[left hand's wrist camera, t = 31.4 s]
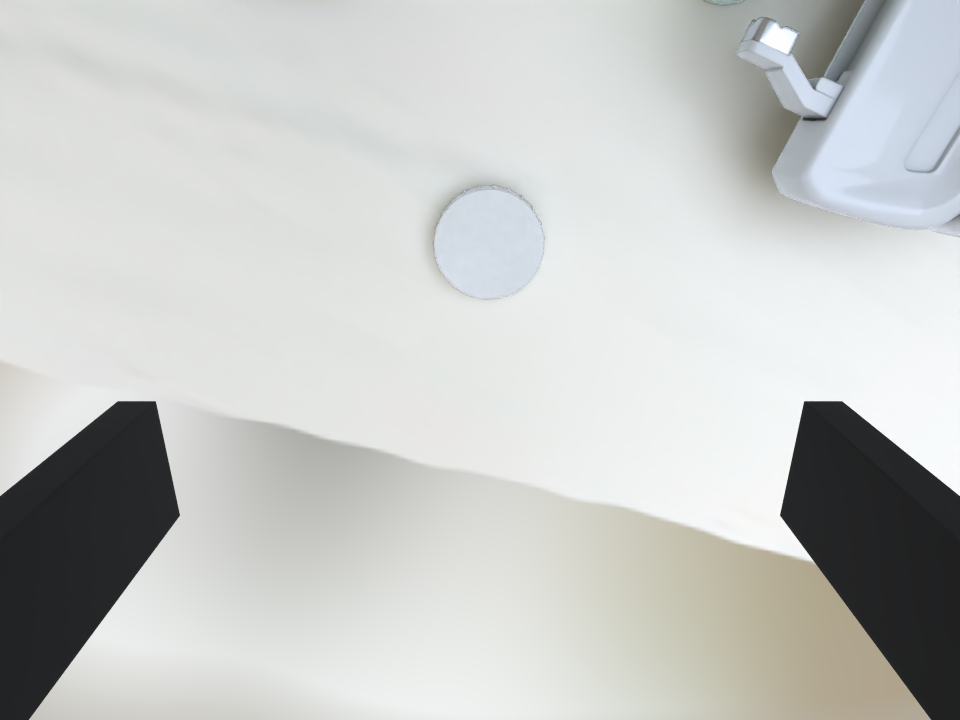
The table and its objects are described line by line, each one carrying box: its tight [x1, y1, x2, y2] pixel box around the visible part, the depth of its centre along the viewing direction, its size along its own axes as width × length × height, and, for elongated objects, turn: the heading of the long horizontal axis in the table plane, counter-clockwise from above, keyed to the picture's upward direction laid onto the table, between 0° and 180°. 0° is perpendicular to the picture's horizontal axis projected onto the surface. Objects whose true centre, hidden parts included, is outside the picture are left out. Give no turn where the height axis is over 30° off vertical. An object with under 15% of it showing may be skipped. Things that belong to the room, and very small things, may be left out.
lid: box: [433, 185, 545, 299], centre depth 37 cm, size 6×6×2 cm
